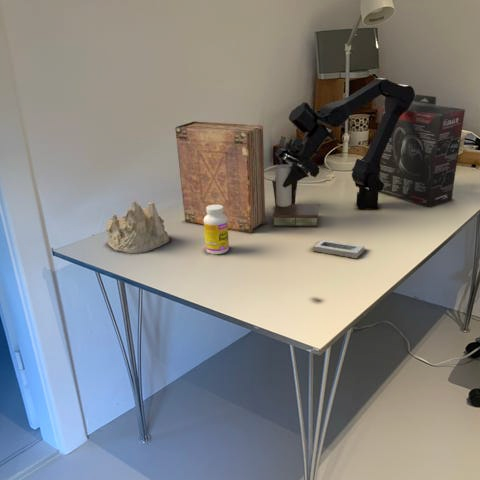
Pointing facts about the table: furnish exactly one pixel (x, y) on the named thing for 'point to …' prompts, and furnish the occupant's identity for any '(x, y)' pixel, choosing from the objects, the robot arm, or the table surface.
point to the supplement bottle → (216, 230)
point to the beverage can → (282, 193)
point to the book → (222, 172)
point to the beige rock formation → (137, 230)
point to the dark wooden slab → (296, 215)
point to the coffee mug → (294, 188)
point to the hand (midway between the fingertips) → (279, 184)
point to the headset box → (423, 153)
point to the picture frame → (350, 252)
